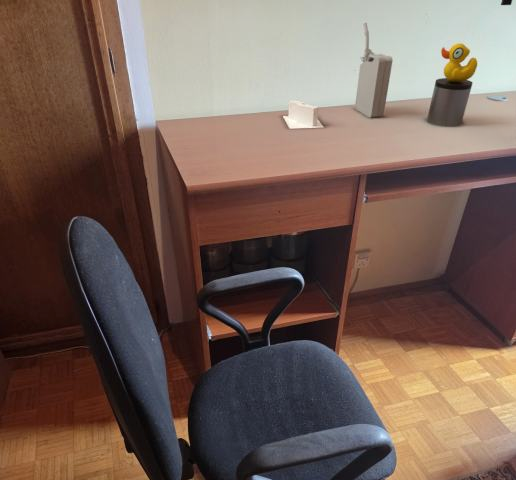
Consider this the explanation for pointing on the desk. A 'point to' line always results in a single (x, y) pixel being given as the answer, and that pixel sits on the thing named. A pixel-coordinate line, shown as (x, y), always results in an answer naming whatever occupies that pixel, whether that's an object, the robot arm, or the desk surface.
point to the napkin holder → (302, 116)
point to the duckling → (458, 63)
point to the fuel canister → (373, 82)
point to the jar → (448, 102)
